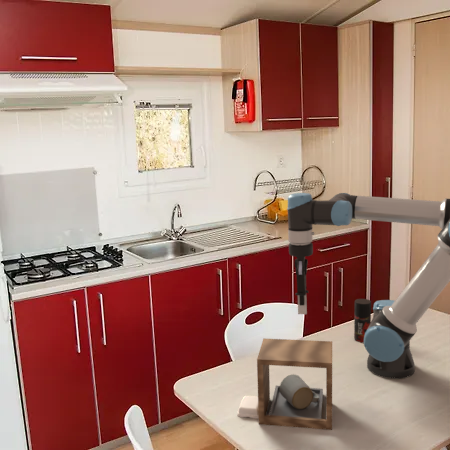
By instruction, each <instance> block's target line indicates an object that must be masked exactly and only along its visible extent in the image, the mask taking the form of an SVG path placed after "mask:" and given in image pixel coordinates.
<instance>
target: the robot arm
mask: <svg viewBox="0 0 450 450" xmlns="http://www.w3.org/2000/svg"><path fill="white" fill-rule="evenodd" d="M286 210H287V224H288V225H287V227H288V229H287V236H288V242H289V243H288V254H289V255H290V256H291V257H296V259H294V268H295V276H296V289H297V292H295V296H297V314H298V315H307V314H308V311H307V310H308V309H307V308H308V307H307V306H308V305H307V304H308V303H307V301H308V300H307V294H309V290H307V272H308V262H309V261H308V259H307V258H306V257H310V256H312V255H313V253H314V243H313V236H314V235H315V231H313V225H320V226H337V227H340V226H349V225H350V224H351V222H352V219H353V220H354V219H355V220H356V219H357V220H364V221H365V220H366V221H367V220H368V221H376V222H389V223H399V224H409V225H410V224H411V225H420V226H421V225H422V226H432V227H434V226H435V227H439V228H440V229H441V230H440V231H439V233H437V242H438V243H437V244H436V246H435V247H434V248H433V250H432V251H431V253H430V254H429V256H428V257H426V259H425V260H424V261H423V263H422V265H421V266H420V267H419V269H418V270H417V271H416V273H414V275H413V276H412V278H411V279H410V280H409V282H408V283H407V284H406V286H405V287H404V288H403V290H402V291H401V293H400V294H399V295H398V296H397V297H396V299H393V300H391V299H381V300H376V301H375V302H374V303H373V307H372V310H373V313H372V314H373V315H372V316H373V317H372V318H371V323H370V325H369V327H368V329H367V331H366V332H365V335H364V342H363V346H364V347H365V350H366V352H367V354H368V356H367V360H366V368H367V369H368V371H370V373H372V374H374V375H376V376H378V377H382V378H386V379H403V378H404V379H405V378H408V377H410V376H412V375H413V374H414V373H415V368H416V365H415V361H414V357H413V354H412V351H411V348H410V346H411V343H410V342H411V340H412V338H413V337H414V336H415V335H416V333H417V332H418V328H417V323H418V322H419V321H420V319H421V318H422V317H423V315H425V313H426V311H427V310H428V309H429V308H430V307H431V305H432V304H433V303H434V302H435V301H436V300H437V298H438V296H440V295H441V293H442V292H443V291H444V289H445V288H446V287H447V285H448V284H449V283H450V198H447V197H446V198H445V197H444V199H443V200H441V201H439V200H425V199H410V198H397V197H396V198H395V197H383V196H365V195H355V194H354V195H353V194H352V195H351V194H350V193H348V192H347V193H346V192H340V193H337V194H335V195H334V196H333V197H331V198H330V199H328V200H316V199H313V196H312V194H311V193H308V192H298V193H297V192H296V193H291V194H290V195H289V196H287V207H286Z"/></svg>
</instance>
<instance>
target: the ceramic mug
mask: <svg viewBox="0 0 450 450" xmlns="http://www.w3.org/2000/svg"><path fill="white" fill-rule="evenodd" d="M279 386H280V393H281V395H282V396H283V397H284V398H285V399H286V400H287V401H288V402H289V403H290V404H291V405H292V406H293V407H295V408H297V409H304V408H306V407H308V406H309V405H310V404H311V402H314V403H316V402H318V399H319V396H318V395H317V394H316V393H315V392H313V391H312V390H311V389H310V388H311V387H310V386H309V385H308V384H307V383H306V382H305V380H304V379H302V377H300V376H299V375H297V374H294V373H293V374H289V375H287V376H285V377H284V378H283V379H282V381H281V382H280V385H279Z"/></svg>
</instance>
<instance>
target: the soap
mask: <svg viewBox="0 0 450 450" xmlns="http://www.w3.org/2000/svg"><path fill="white" fill-rule="evenodd" d="M236 415H237V417H240V418H250V419H259V413H258V395H244V396H243V398H242V399H241V401H240V403H239V407H238V410H237V412H236Z"/></svg>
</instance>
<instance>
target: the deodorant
mask: <svg viewBox="0 0 450 450" xmlns="http://www.w3.org/2000/svg"><path fill="white" fill-rule="evenodd" d="M371 321H372V300H370V299H368V298H367V299H366V298H356V299H355V300H354V321H353V322H354V326H353V327H354V333H353V335H354V336H353V337H354V338H353V339H354V341H355V342H357V343H364V335H365V332H366V331H367V329H368V327H369V325H370V323H371Z"/></svg>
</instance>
